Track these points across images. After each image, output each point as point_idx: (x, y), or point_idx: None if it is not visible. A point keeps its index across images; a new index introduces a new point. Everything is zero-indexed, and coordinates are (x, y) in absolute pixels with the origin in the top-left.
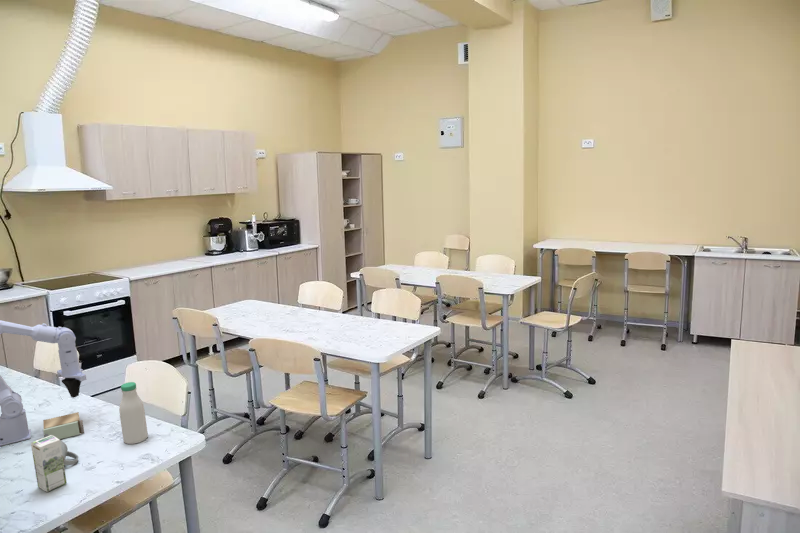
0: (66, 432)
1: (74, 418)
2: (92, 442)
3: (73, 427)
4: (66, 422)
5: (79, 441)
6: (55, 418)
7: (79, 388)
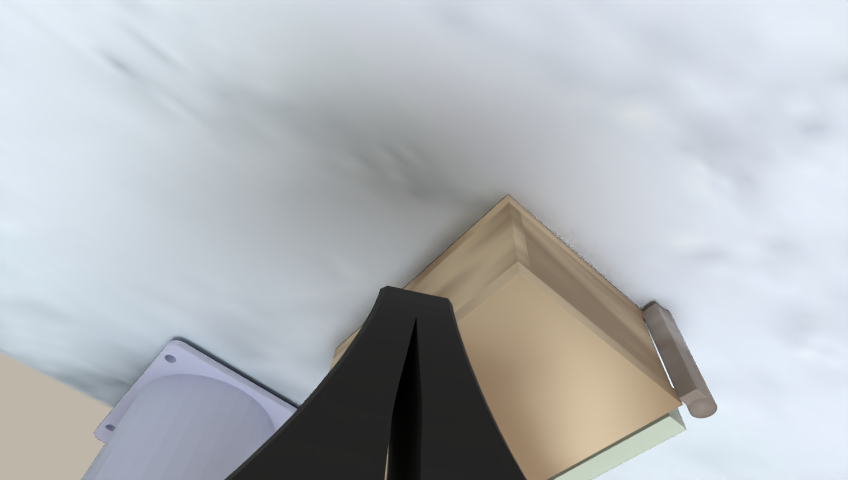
0: None
1: (597, 389)
2: (829, 399)
3: None
4: (578, 450)
5: None
6: None
7: (483, 396)
